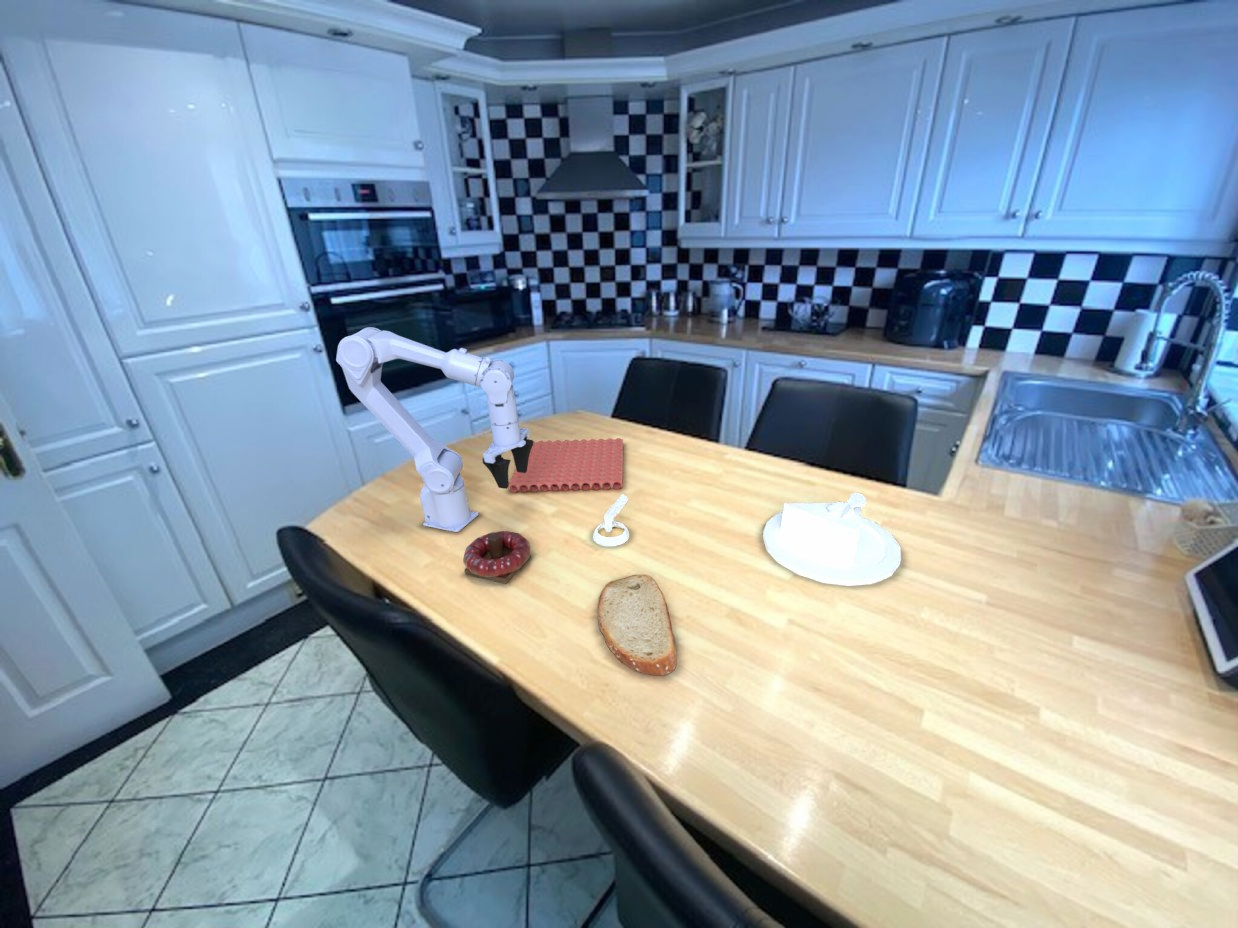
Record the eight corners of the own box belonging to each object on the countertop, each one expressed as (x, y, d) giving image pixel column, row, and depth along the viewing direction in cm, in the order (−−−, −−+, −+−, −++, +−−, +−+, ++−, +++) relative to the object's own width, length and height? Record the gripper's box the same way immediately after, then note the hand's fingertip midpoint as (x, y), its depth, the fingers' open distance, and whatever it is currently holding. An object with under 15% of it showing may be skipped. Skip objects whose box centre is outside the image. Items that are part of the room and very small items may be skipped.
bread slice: (665, 684, 71) (665, 665, 69) (563, 637, 80) (561, 619, 78) (714, 608, 84) (715, 590, 83) (622, 575, 93) (621, 558, 92)
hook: (653, 523, 99) (624, 511, 96) (619, 560, 105) (590, 550, 102) (647, 498, 105) (620, 486, 102) (615, 534, 111) (588, 523, 108)
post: (465, 574, 95) (459, 545, 93) (492, 548, 103) (487, 520, 100) (506, 584, 92) (501, 554, 89) (531, 556, 100) (527, 527, 97)
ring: (451, 572, 94) (448, 558, 93) (490, 537, 105) (487, 523, 103) (508, 586, 90) (505, 571, 89) (542, 547, 100) (541, 534, 99)
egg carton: (622, 489, 123) (622, 482, 123) (508, 492, 124) (507, 485, 123) (623, 444, 149) (622, 438, 148) (528, 447, 150) (527, 441, 149)
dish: (897, 524, 105) (908, 476, 100) (901, 600, 84) (915, 543, 79) (774, 503, 114) (779, 458, 109) (752, 566, 94) (756, 514, 89)
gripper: (501, 435, 97) (510, 497, 102) (538, 410, 109) (545, 467, 115) (470, 432, 99) (481, 492, 105) (510, 408, 111) (518, 464, 117)
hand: (513, 479), depth 110 cm, fingers open, 7 cm apart
